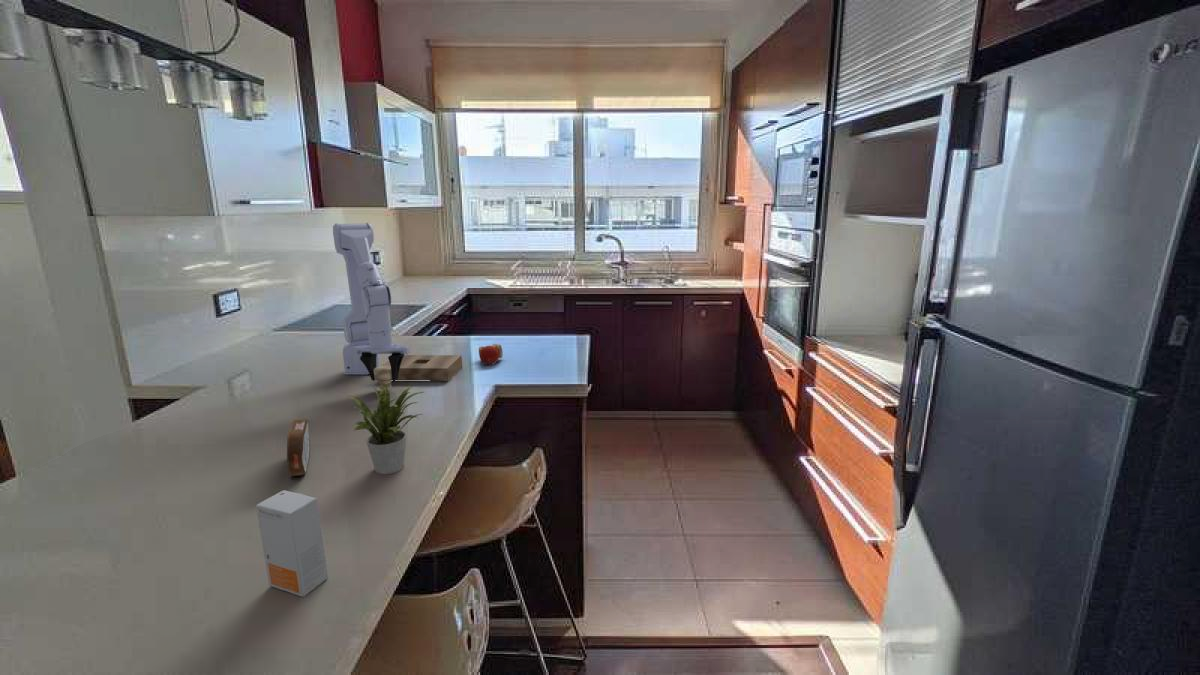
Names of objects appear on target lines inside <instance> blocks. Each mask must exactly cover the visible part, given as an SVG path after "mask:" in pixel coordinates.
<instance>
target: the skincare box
mask: <svg viewBox="0 0 1200 675" xmlns="http://www.w3.org/2000/svg"><path fill="white" fill-rule="evenodd" d="M255 508H256V514H257V521H258V526H259V532H260V538H261V542H262V549H263V555H264V561H265V567H266V573H267V578H268V585H269V587H271V588H275V589H278V590H282V591H284V592H287V593H290V594H293V595H296V596H299V597H301V598H303V597H306V596H307V595H308V594H309V593H310V592H312V591H313V590H314V589H315V588H317V587H318V586H320V585H321V584H323V582H324V581H326V580H327V579H329V578H328V577H329V574H328V567H327V560H326V555H325V546H324V539H323V532H322V525H321V519H320V518H321V517H320V511H319V504H318V498H317V497H312V496H308V495H305V494H303V493H299V492H293V491H288V490H285V489H284V490H281V491H279V492H277V493H275V494H274V495H271V496H270V497H268V498H266V499H264V500H263V501H261V502H259V503H258V504H256V506H255Z"/></svg>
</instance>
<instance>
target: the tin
mask: <svg viewBox="0 0 1200 675" xmlns="http://www.w3.org/2000/svg"><path fill="white" fill-rule="evenodd" d="M309 422H310V421H309V419H308V418H292V421H291V425H290V428H289V430H288V434H287V439H286V440H287V441H286V442H287V443H286V465H287V473H288V476H289V477H290V478H292V477H297V476H298V477H299V476H303V475H306V473H307V471H308V466H309V463H310V456H311V440H310V434H309V426H310V423H309Z"/></svg>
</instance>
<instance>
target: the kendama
mask: <svg viewBox="0 0 1200 675" xmlns="http://www.w3.org/2000/svg"><path fill="white" fill-rule="evenodd" d="M478 356H479V360H480V361H481V362H482V363H483V364H484V365H487V366H488V365H489V366H490V365H493V364H496V362H497V361H498V360H499V359H501V358H503V356H504V355H503V347H502V345H501V344H498V343H494V344H492V345H485V346H479V347H478Z"/></svg>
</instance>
